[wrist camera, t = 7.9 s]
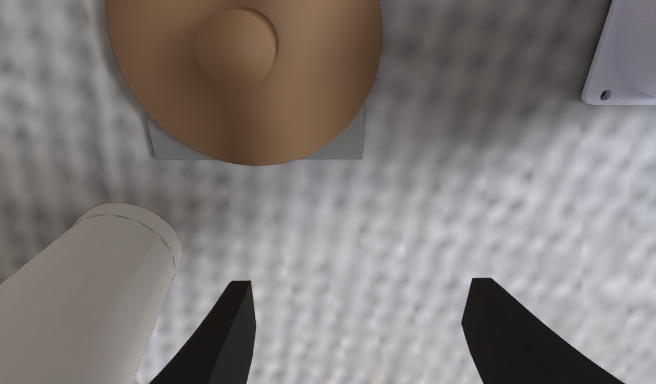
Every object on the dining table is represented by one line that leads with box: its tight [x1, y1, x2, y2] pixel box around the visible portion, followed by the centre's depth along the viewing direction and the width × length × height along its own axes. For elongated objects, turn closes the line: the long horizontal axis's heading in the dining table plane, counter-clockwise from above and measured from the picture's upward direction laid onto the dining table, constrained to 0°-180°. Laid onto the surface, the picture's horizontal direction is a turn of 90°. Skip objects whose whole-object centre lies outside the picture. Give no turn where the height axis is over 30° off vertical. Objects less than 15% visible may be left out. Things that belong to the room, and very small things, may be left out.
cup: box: [0, 203, 182, 384], centre depth 18 cm, size 8×8×12 cm
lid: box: [105, 0, 382, 166], centre depth 16 cm, size 12×12×4 cm
